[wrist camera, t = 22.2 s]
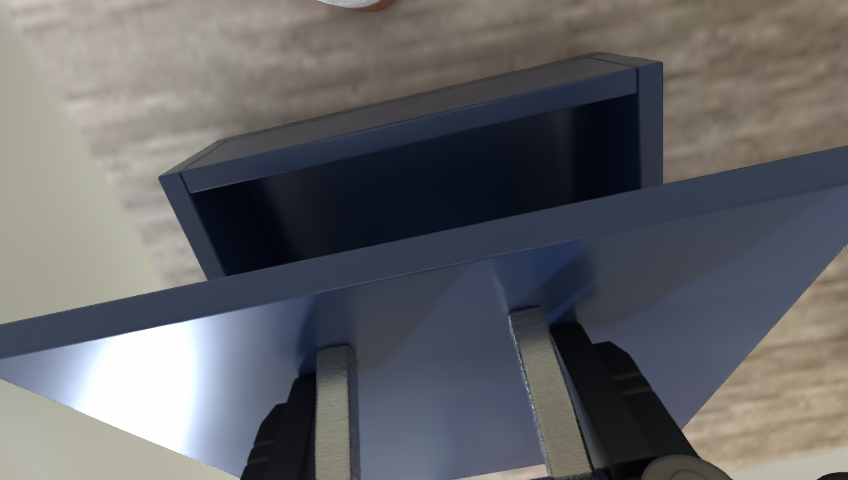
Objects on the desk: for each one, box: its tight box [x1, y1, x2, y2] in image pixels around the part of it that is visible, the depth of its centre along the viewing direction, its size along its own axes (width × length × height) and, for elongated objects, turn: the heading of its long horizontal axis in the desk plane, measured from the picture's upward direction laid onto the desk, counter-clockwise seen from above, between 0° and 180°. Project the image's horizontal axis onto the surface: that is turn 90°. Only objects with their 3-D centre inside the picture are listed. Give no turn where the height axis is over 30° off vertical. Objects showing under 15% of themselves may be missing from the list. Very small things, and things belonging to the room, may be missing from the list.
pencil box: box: [158, 52, 663, 280], centre depth 20 cm, size 16×17×5 cm
